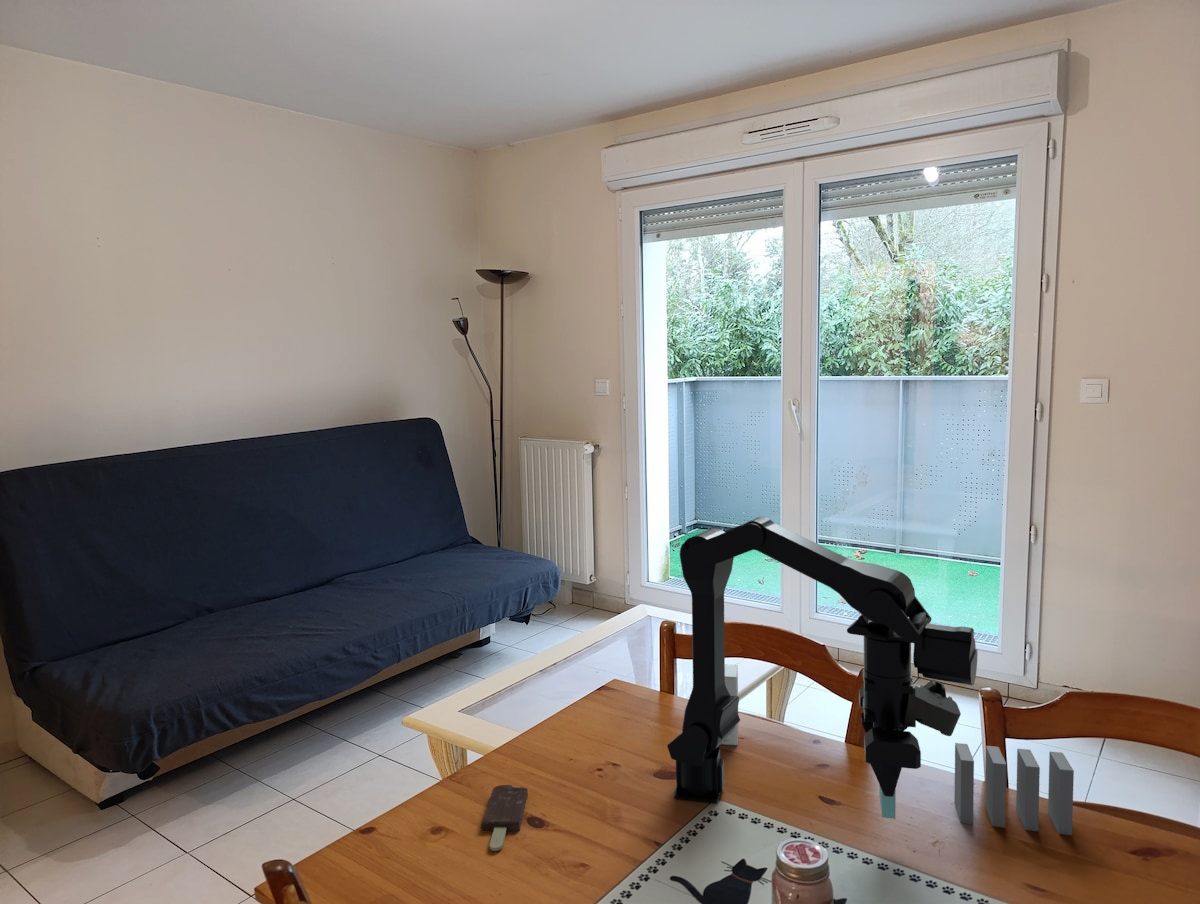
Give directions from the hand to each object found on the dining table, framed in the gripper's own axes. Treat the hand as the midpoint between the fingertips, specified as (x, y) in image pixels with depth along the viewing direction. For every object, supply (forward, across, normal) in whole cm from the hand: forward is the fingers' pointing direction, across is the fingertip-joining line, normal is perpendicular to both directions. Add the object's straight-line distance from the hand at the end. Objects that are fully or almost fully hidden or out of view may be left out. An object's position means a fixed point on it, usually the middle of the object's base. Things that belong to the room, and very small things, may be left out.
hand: (887, 785), depth 102 cm
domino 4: (+8, +10, -23) cm, 26 cm away
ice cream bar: (+9, -6, +52) cm, 53 cm away
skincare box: (+8, +26, +24) cm, 36 cm away
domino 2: (+8, +10, -15) cm, 20 cm away
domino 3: (+8, +10, -19) cm, 23 cm away
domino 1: (+8, +10, -11) cm, 17 cm away
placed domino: (+3, 0, 0) cm, 3 cm away
